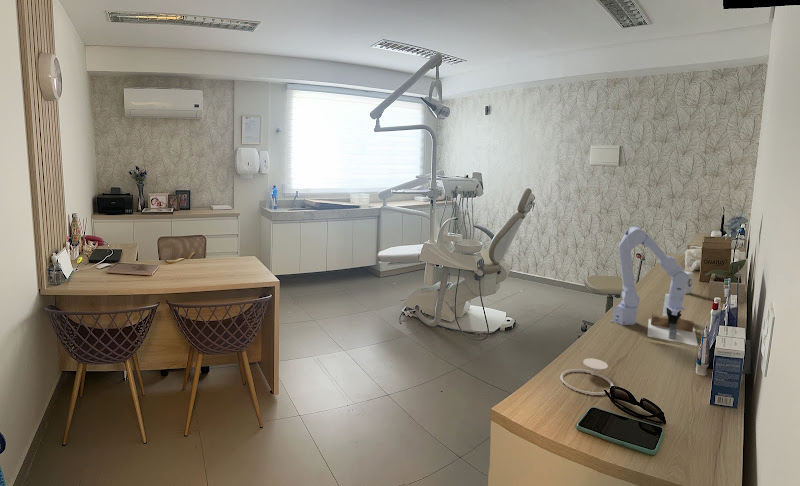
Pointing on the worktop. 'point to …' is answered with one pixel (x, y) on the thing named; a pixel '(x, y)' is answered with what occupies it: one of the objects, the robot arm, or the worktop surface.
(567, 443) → the worktop surface
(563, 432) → the worktop surface
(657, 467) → the worktop surface
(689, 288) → the ink box
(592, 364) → the hand towel holder
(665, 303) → the skincare box
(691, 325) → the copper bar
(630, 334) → the worktop surface
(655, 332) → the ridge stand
